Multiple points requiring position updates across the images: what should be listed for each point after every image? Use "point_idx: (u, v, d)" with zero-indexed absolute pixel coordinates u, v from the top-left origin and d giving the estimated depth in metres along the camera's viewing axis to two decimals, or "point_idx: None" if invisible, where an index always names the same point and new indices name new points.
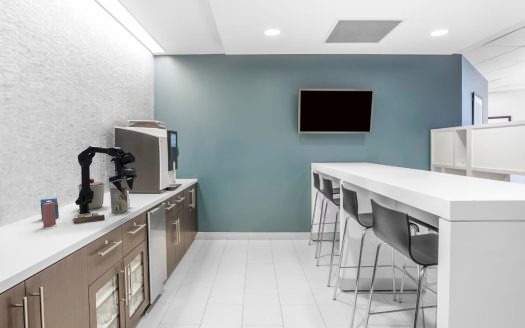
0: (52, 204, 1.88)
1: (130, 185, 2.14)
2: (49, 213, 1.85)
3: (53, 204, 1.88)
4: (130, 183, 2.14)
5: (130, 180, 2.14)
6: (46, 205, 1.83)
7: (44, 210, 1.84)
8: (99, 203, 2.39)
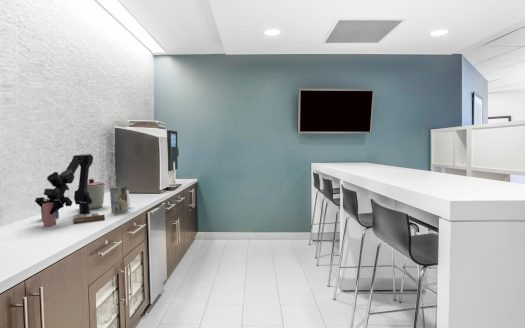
0: (52, 204, 1.87)
1: None
2: (49, 213, 1.85)
3: (53, 204, 1.88)
4: None
5: None
6: (46, 205, 1.83)
7: (44, 210, 1.84)
8: (99, 203, 2.39)
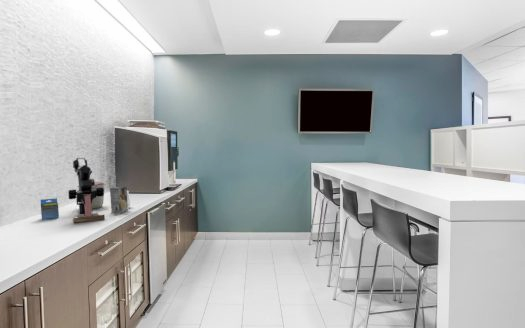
0: None
1: None
2: (90, 204, 1.98)
3: None
4: (90, 197, 2.00)
5: (91, 195, 2.01)
6: (89, 196, 1.98)
7: (87, 201, 1.97)
8: (99, 203, 2.39)
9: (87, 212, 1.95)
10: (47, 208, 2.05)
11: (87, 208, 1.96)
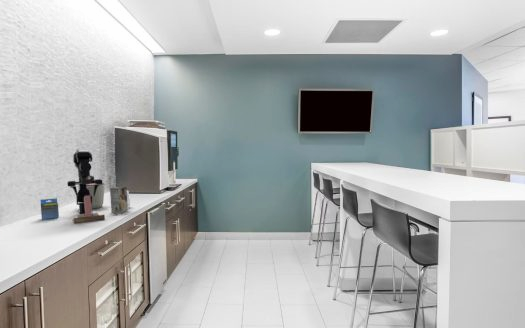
0: None
1: (94, 190, 2.08)
2: (90, 204, 1.99)
3: None
4: (94, 189, 2.08)
5: (94, 186, 2.08)
6: (89, 196, 1.98)
7: (87, 201, 1.97)
8: (99, 203, 2.39)
9: (87, 212, 1.95)
10: (47, 208, 2.05)
11: (87, 208, 1.96)
